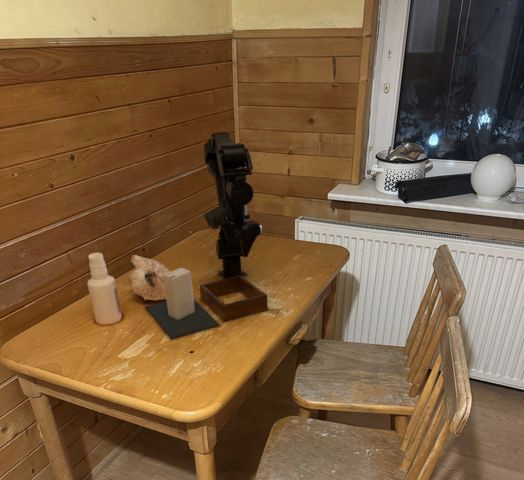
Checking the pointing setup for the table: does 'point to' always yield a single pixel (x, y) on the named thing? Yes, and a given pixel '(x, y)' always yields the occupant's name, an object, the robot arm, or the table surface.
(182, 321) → the mat
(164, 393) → the table surface
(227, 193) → the robot arm
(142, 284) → the beige seashell
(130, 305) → the table surface
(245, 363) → the table surface
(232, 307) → the crate
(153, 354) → the table surface
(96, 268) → the spray bottle
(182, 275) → the cosmetic box
